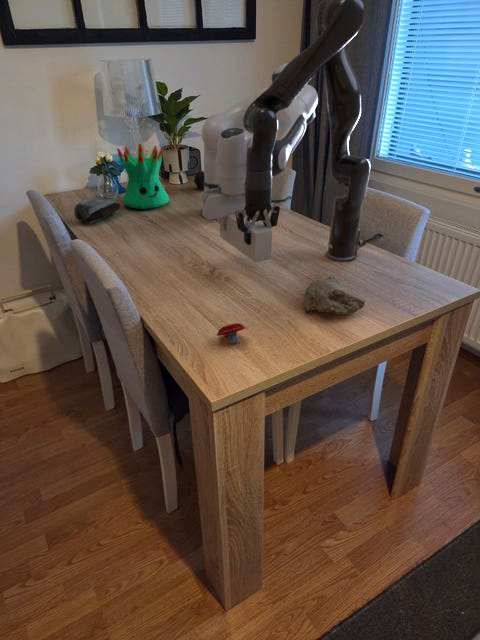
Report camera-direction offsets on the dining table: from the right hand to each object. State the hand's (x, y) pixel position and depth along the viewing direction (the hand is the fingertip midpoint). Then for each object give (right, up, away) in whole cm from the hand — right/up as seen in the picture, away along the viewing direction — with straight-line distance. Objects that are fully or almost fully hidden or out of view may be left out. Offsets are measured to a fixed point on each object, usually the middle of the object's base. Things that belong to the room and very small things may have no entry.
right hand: (257, 242), depth 133 cm
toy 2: (-21, +43, +93) cm, 104 cm away
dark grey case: (-64, +19, +54) cm, 86 cm away
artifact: (+20, -19, -7) cm, 29 cm away
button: (-7, -29, -23) cm, 37 cm away
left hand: (-7, +7, +12) cm, 16 cm away
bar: (-4, 0, +8) cm, 9 cm away
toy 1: (-48, +30, +71) cm, 91 cm away
